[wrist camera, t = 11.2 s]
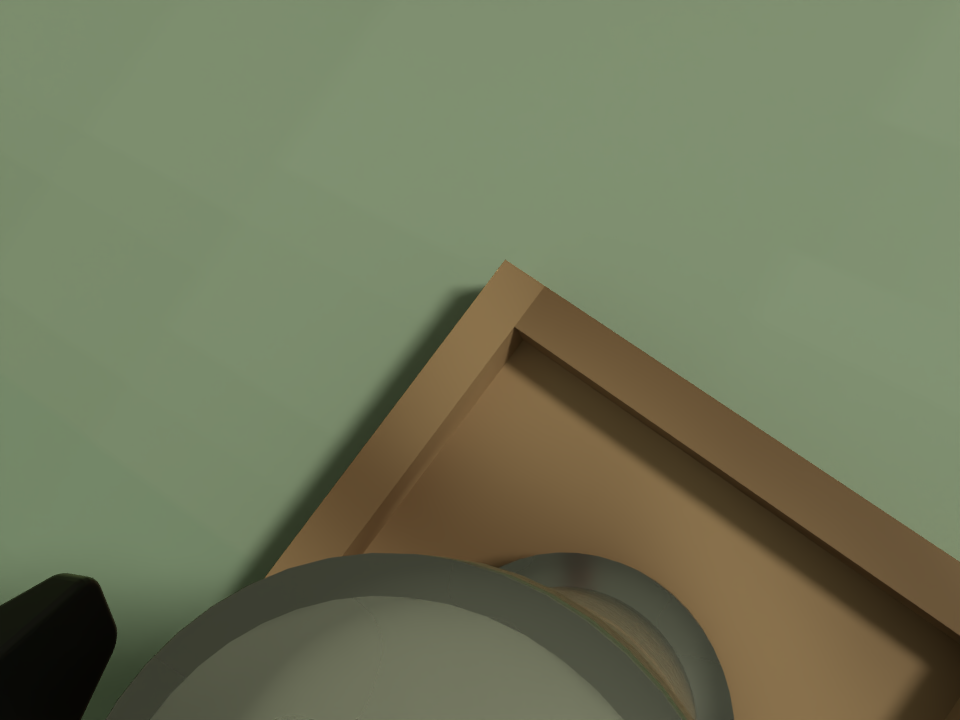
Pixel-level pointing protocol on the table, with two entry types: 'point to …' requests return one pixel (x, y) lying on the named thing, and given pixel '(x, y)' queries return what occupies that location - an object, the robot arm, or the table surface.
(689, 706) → the glass jar
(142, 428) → the table surface
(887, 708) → the walnut keeper tray
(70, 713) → the robot arm
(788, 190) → the table surface
